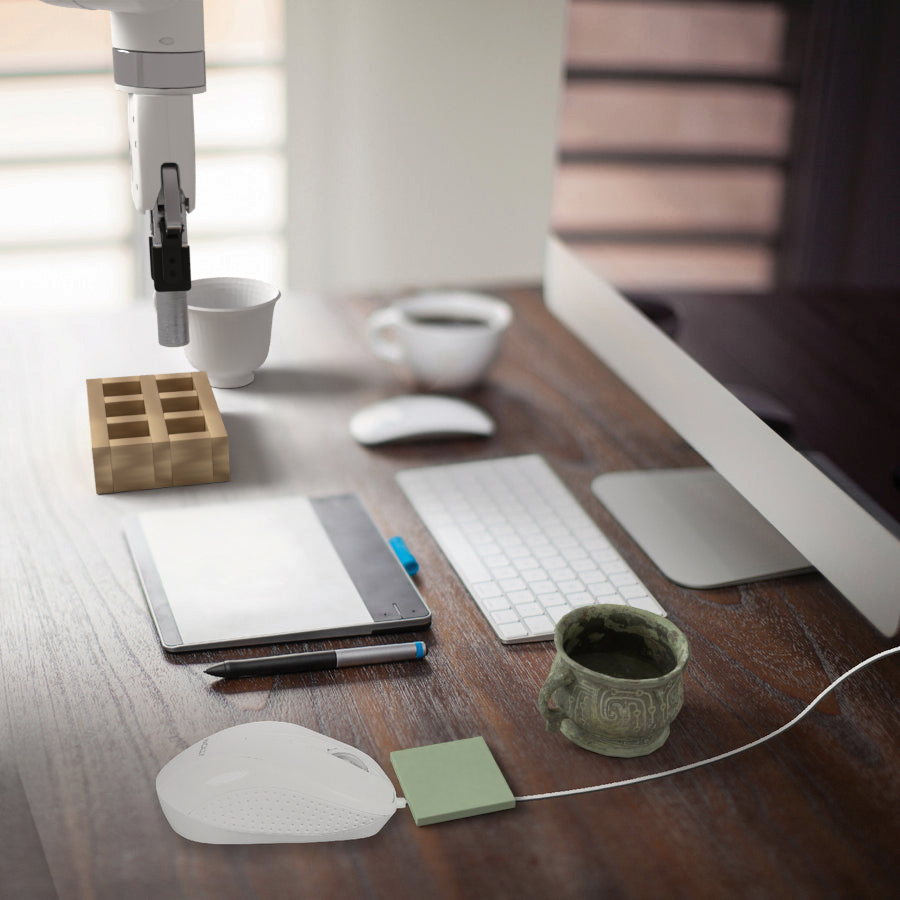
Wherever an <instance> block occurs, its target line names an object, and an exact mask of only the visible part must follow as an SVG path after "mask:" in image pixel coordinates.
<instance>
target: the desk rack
mask: <svg viewBox="0 0 900 900" xmlns="http://www.w3.org/2000/svg"><path fill="white" fill-rule="evenodd" d="M85 380H86V381H85V384H86V396H87V408H88V419H89V430H90V432H89V433H90V444H91V453H92V454H91V455H92V465H93V473H94V485H95V494H96V495H101V494H111V493H122V492H131V491H141V490H152V489H162V488H172V487H173V488H174V487H184V486H194V485H204V484H213V483H222V482H230V481H231V470H230V447H229V446H230V445H229V443H230V442H229V435H228V432H227V428H226V426H225V423H224V420H223V417H222V414H221V412H220V407H219V405H218V402H217V400H216V397H215V394H214V391H213V387H212V386H211V385H210V382H209V379H208V376H207V374H206V371H198V370H197V371H188V372H186V371H185V372H171V373H157V374H156V373H155V374H141V375H129V376H128V375H126V376H116V377H114V376H113V377H99V378H86V379H85Z"/></svg>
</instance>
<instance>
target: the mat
mask: <svg viewBox="0 0 900 900" xmlns="http://www.w3.org/2000/svg"><path fill="white" fill-rule="evenodd" d="M389 760H390V763H391V766H392V768H393V771H394V774H395V775H396V778H397V780H398V782H399V785H400V788H401V791H402V793H403V796H404V797H405V800H406V802H407V805H408V808H409V810H410V812H411V815H412V818H413V820H414V822H415V825H416V827H423V826H428V825H433V824H439V823H443V822H449V821H453V820H459V819H464V818H469V817H473V816H479V815H483V814H489V813H494V812H499V811H504V810H510V809H515V808H516V803H517V802H516V801H517V800H516V798H515V795H514V794H513V792H512V790H511V789H510V786H509V784H508V783H507V781H506V778H505V777H504V775H503V773H502V771H501V769H500V767H499V765H498V763H497V762H496V760H495V758H494V756H493V753H492V752H491V750H490V748H489V746H488V745H487V742H486V741H485V739H484V737H483V735H481V736H475V737H470V738H464V739H457V740H452V741H446V742H441V743H440V742H439V743H435V744H429V745H424V746H418V747H412V748H406V749H405V748H404V749H399V750H394V751H390V753H389Z"/></svg>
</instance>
